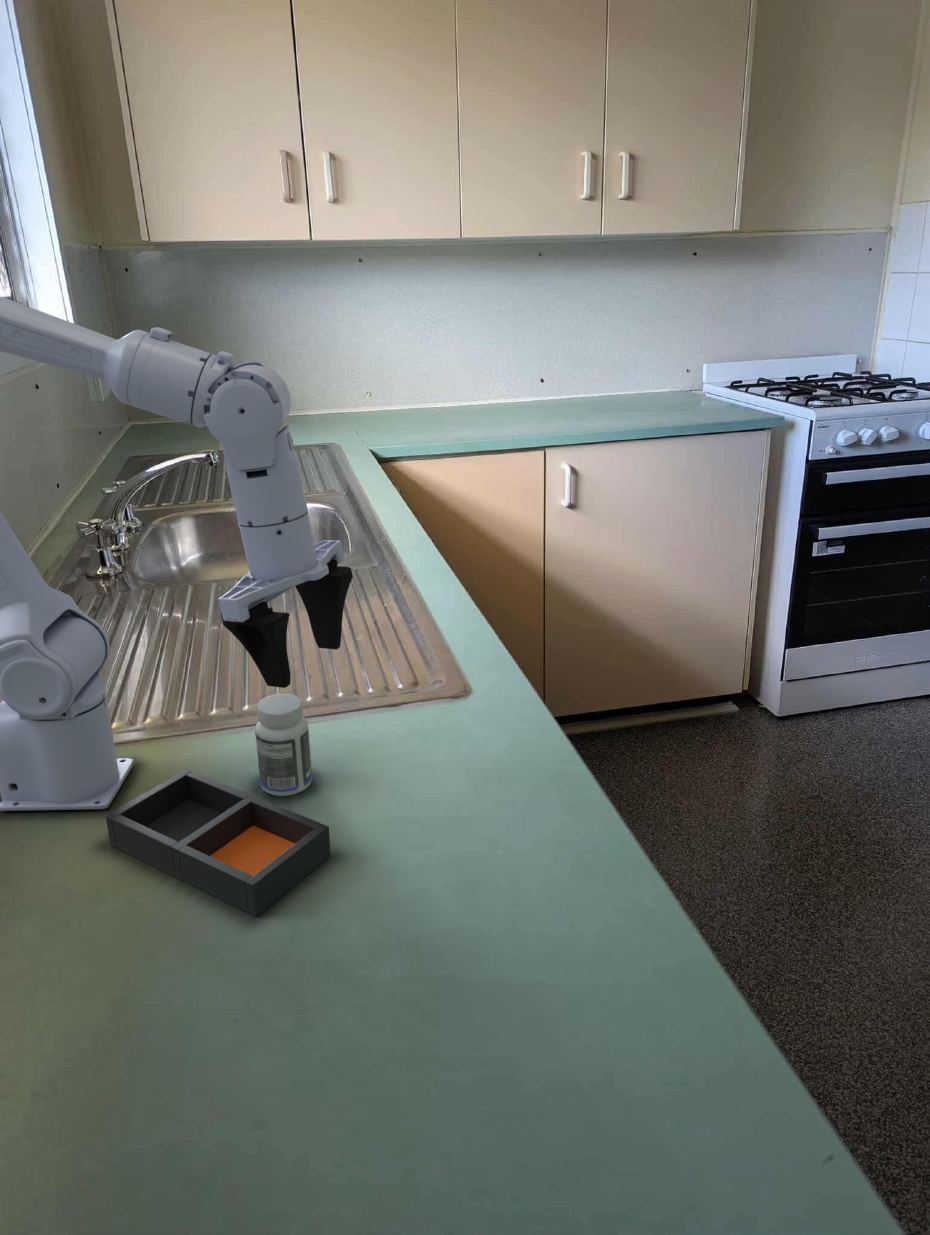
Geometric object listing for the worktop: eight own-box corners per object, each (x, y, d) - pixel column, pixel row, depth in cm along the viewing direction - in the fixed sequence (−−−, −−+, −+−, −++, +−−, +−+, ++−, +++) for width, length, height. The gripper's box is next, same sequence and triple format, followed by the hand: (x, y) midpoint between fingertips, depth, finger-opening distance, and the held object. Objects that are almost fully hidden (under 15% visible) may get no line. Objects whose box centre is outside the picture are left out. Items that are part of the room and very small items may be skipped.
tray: (110, 845, 72) (105, 815, 71) (190, 796, 79) (186, 768, 78) (256, 917, 65) (253, 885, 63) (330, 856, 71) (329, 826, 70)
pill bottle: (289, 764, 84) (283, 686, 81) (322, 781, 82) (317, 701, 79) (249, 785, 81) (241, 704, 78) (282, 803, 78) (275, 720, 75)
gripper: (255, 546, 64) (292, 709, 69) (361, 492, 76) (385, 635, 81) (184, 544, 67) (224, 699, 72) (296, 493, 79) (323, 630, 84)
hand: (305, 665), depth 77 cm, fingers open, 7 cm apart
